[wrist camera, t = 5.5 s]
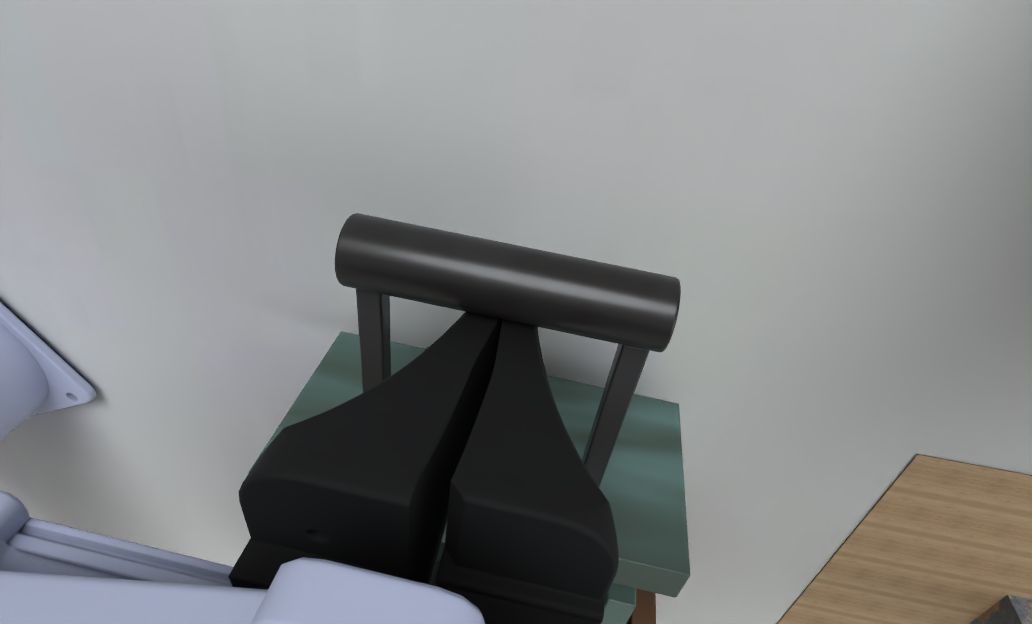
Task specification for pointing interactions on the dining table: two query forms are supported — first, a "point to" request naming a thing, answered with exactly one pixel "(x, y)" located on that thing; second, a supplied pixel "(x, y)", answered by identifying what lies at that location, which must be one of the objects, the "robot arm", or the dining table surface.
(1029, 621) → the architectural model on board
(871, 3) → the dining table surface
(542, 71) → the dining table surface
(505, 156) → the dining table surface
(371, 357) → the green drawer
